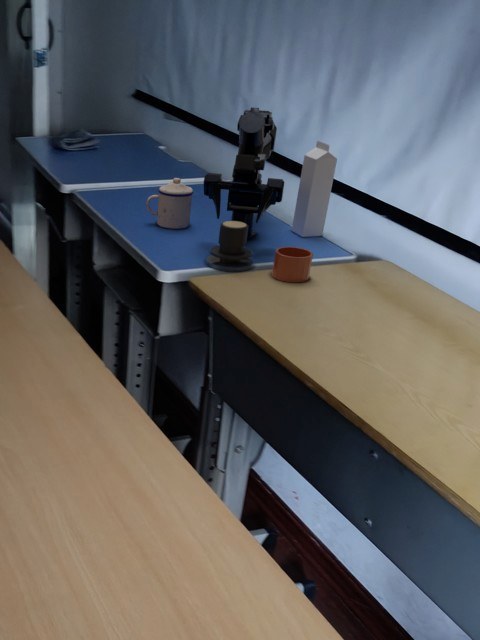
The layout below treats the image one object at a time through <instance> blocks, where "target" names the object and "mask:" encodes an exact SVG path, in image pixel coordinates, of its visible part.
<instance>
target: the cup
mask: <svg viewBox="0 0 480 640" xmlns="http://www.w3.org/2000/svg"><path fill="white" fill-rule="evenodd" d="M313 257H314V253H313V251H311V250H310V249H307V248H303V247H298V246H281V247H278V248H276V249H275V252H274V258H273V264H272V269H271V276H272V278H274V279H275V280H278V281H281V282H286V283H302V282H306V281H308V280H309V278H310V274H311V268H312V263H313Z"/></svg>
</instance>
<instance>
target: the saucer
mask: <svg viewBox="0 0 480 640" xmlns="http://www.w3.org/2000/svg"><path fill="white" fill-rule="evenodd" d="M205 264H206V266H208V267H210V268H212V269H214V270H215V269H216V270H217V271H223V272H245V271H248V270H251V269H252V268H253V267H254V261H253V259H251V257H250V258H248V259H244V260H240V262H239V263H236V264H228V263H223V262H221V261H220V258H217V257H215V256H213V255H211V254H210V255H209V256H207V257H206V259H205Z"/></svg>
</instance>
